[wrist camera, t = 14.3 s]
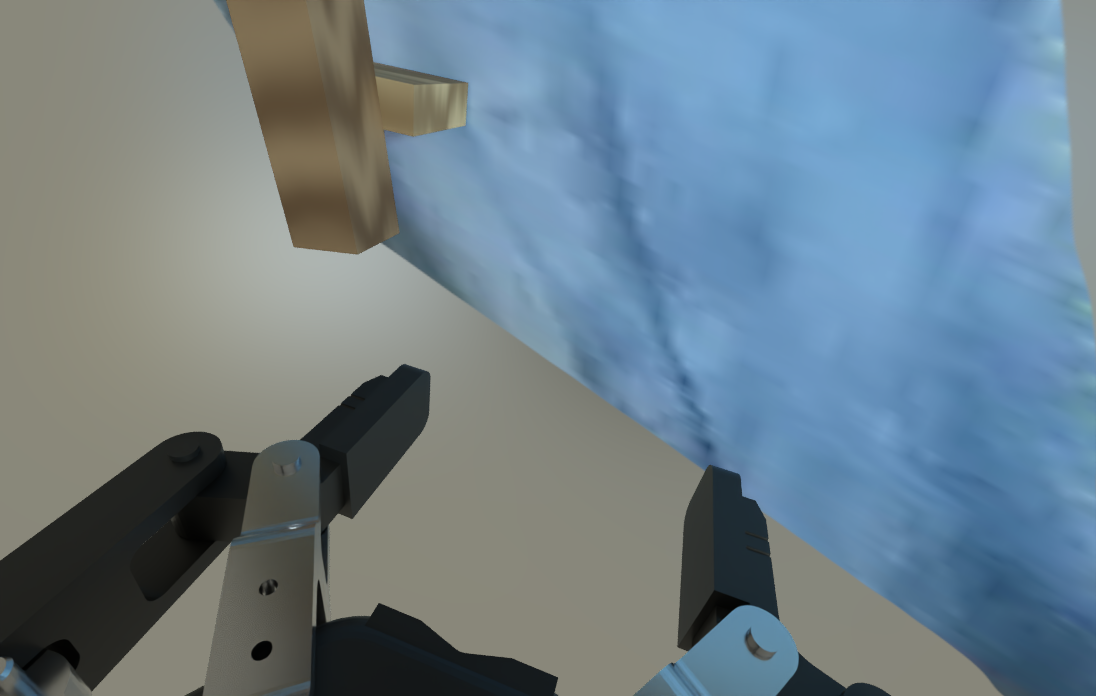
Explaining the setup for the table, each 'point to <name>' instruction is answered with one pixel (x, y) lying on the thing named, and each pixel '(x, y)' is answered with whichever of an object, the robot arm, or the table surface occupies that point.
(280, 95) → the batten
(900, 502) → the table surface
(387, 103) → the fulcrum
